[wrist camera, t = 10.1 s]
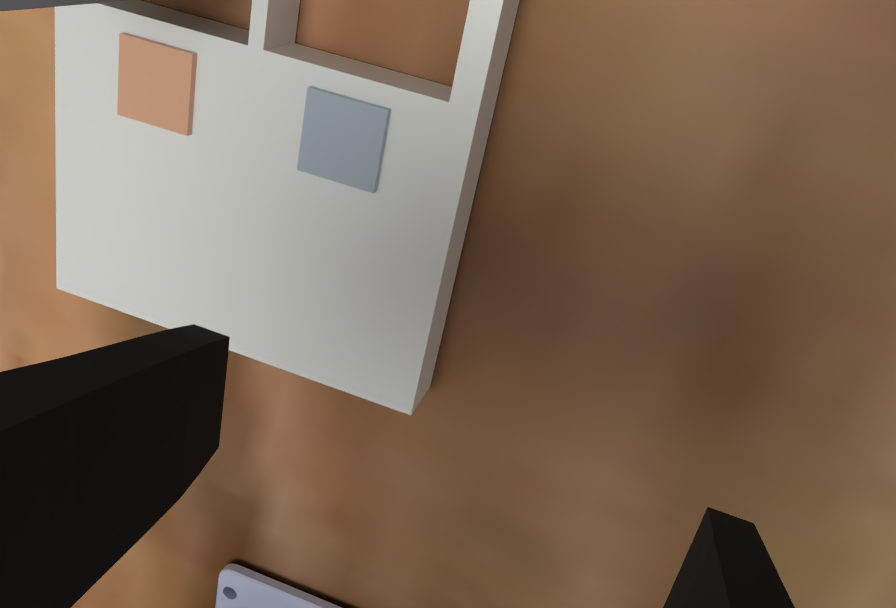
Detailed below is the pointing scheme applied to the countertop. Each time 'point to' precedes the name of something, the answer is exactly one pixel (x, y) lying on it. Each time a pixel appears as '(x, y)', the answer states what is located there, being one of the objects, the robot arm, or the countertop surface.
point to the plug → (45, 3)
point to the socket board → (270, 186)
